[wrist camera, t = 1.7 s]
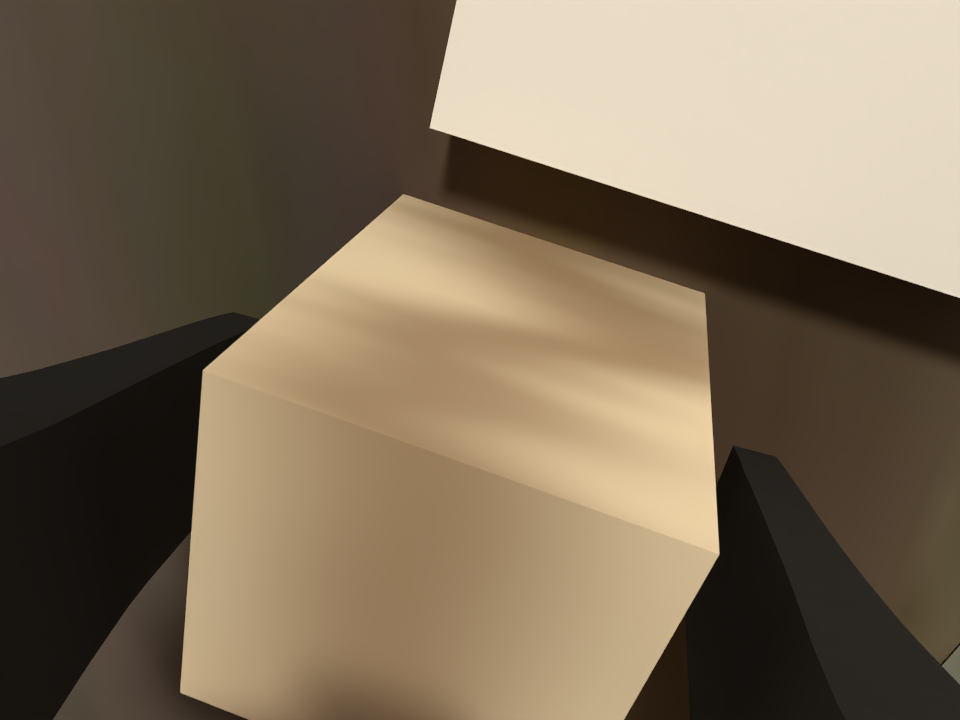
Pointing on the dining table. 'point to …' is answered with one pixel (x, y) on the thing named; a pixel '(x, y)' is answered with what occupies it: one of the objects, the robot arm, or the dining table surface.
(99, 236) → the dining table surface
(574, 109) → the crank board
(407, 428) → the block
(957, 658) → the tray
